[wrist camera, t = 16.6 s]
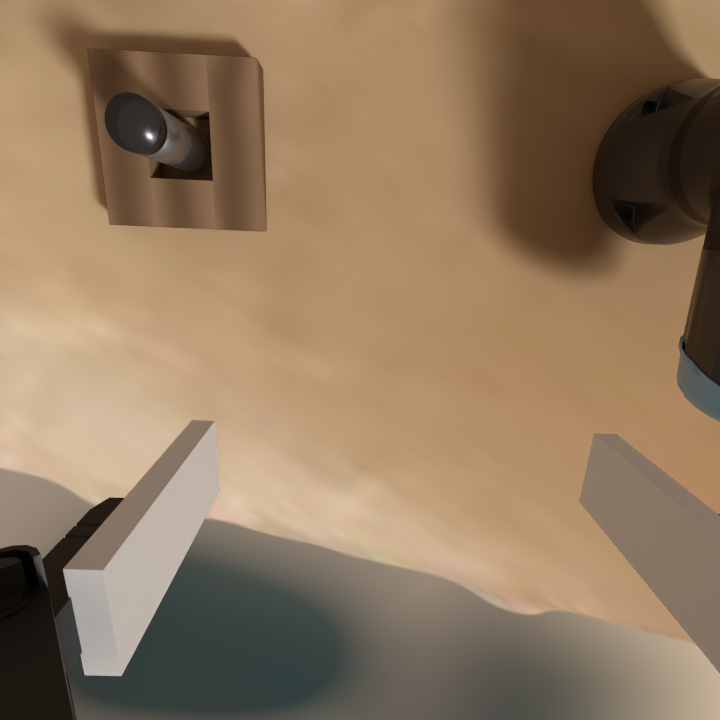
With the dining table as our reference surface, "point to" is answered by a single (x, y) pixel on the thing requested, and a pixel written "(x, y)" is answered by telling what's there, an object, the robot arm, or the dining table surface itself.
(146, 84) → the socket block
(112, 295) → the dining table surface
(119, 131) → the grey and black cylinder
